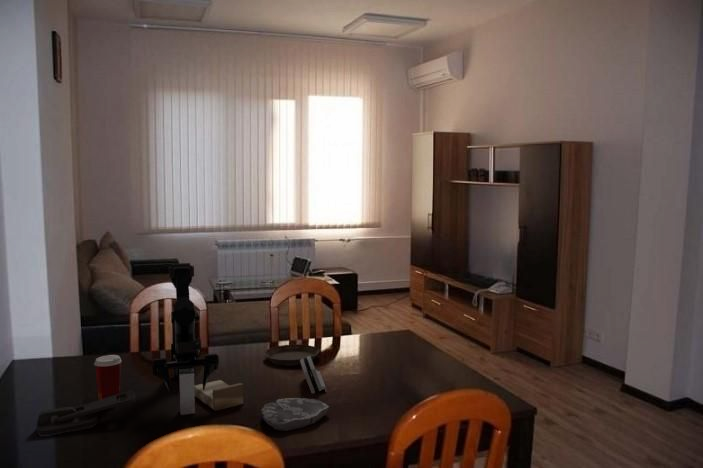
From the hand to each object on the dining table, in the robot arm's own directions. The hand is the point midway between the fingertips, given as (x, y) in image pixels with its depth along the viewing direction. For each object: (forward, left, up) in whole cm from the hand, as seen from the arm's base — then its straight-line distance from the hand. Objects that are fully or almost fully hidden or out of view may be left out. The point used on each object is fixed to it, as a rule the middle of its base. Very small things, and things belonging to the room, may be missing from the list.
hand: (187, 391), depth 166 cm
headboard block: (+3, +13, -7) cm, 15 cm away
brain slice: (+30, +5, -7) cm, 31 cm away
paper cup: (-27, 0, -7) cm, 28 cm away
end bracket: (-1, +1, -7) cm, 7 cm away
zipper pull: (-23, -14, -7) cm, 27 cm away
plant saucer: (+9, +57, -7) cm, 59 cm away
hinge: (+26, +33, -7) cm, 43 cm away
